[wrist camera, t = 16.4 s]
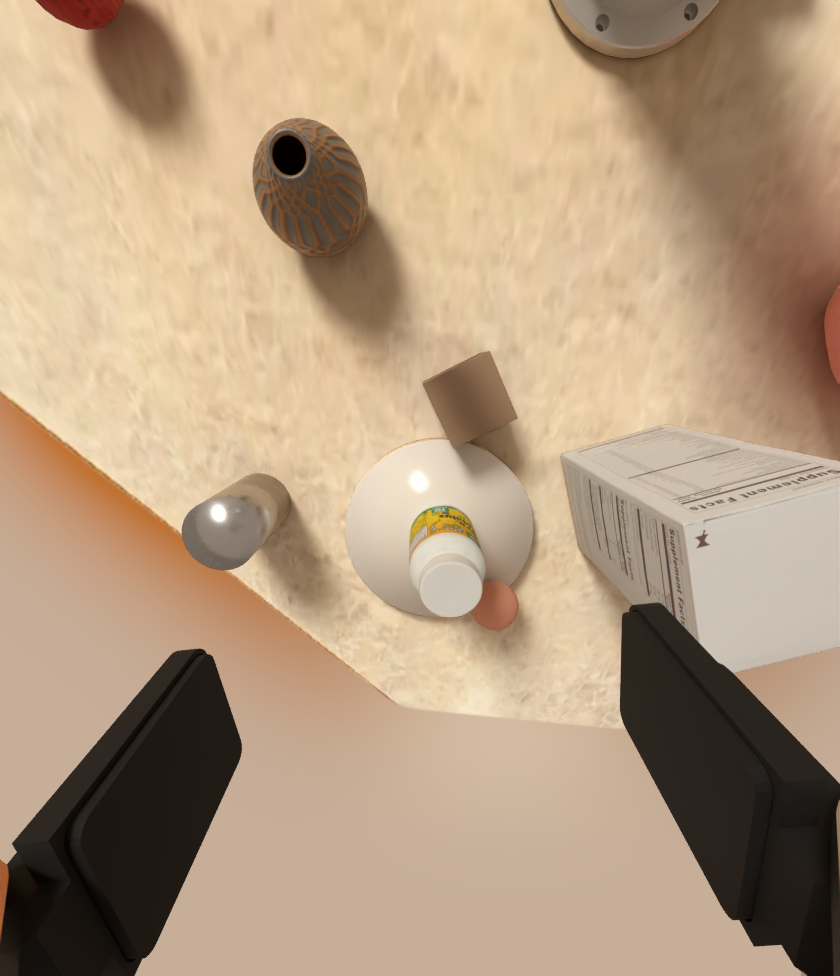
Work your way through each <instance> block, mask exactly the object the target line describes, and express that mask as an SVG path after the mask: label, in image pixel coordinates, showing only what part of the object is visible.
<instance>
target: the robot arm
mask: <svg viewBox="0 0 840 976" xmlns="http://www.w3.org/2000/svg"><path fill="white" fill-rule="evenodd" d="M551 1H552V3H553V5H554V7H555V9H556V11H557V13H558V15H559V17H560V18H561V19H562V21H563V22H564V23H565V25H566V26H567V27H568V29H569V30H570V31H571V32H572V33H573V34H574V35H575V36H576V37H577V38H578V39H580V40H581V41H582V42H583V43H584V44H585V45H587V46H589V47H591V48H592V49H594V50H596V51H598V52H600V53H602V54H606V55H610V56H614V57H618V58H640V57H644V56H648V55H652V54H656V53H659V52H661V51H663V50H665V49H667V48H669V47H671V46H673V45H675V44H677V43H678V42H679V41H681V40H682V39H683V38H685V37H686V36H687V35H689V34H690V33H692V32H693V31H694V30H695V28H696V27H697V26H698V25H699V24H700V23H701V22H702V21H703V20H704V19H705V18H706V17H707V16H708V15H709V14H710V12H711V11H712V10H713V8H714V7H715V6H716V5H717V3H718V2H719V1H720V0H551ZM620 712H621V717H622V720H623V723H624V726H625V728H626V730H627V731H628V733H629V735H630V737H631V739H632V741H633V743H634V744H635V746H636V748H637V750H638V752H639V754H640V756H641V758H642V759H643V761H644V763H645V765H646V767H647V769H648V770H649V772H650V774H651V776H652V778H653V780H654V782H655V784H656V785H657V787H658V789H659V791H660V793H661V795H662V797H663V798H664V800H665V802H666V804H667V806H668V808H669V810H670V811H671V813H672V815H673V817H674V819H675V821H676V823H677V824H678V826H679V828H680V830H681V832H682V834H683V836H684V838H685V839H686V841H687V843H688V845H689V847H690V849H691V851H692V852H693V854H694V856H695V858H696V860H697V862H698V864H699V865H700V867H701V869H702V871H703V873H704V875H705V876H706V879H707V880H708V882H709V884H710V886H711V888H712V890H713V892H714V893H715V895H716V897H717V899H718V901H719V903H720V905H721V906H722V908H723V910H724V911H725V913H726V914H727V915H728V917H730V918H731V919H732V920H740V922H741V924H742V926H743V927H744V929H745V931H746V933H747V934H748V936H749V938H750V940H751V942H752V943H753V945H754V946H767V945H782V946H783V948H784V950H785V951H786V953H787V955H788V956H789V958H790V960H791V961H792V963H793V965H794V966H795V967H796V968H798V969H799V970H800V971H801V976H840V784H839V783H838V782H837V781H836V779H835V778H834V777H833V776H832V775H831V774H830V773H829V772H828V771H827V770H826V769H825V768H824V767H823V766H822V765H821V764H820V763H819V762H818V761H817V760H816V759H815V758H814V757H813V756H812V755H811V754H810V753H809V752H808V751H807V749H806V748H805V747H804V746H803V745H802V744H801V743H800V742H799V741H798V740H797V739H796V738H795V737H794V736H793V735H792V734H791V733H790V732H789V731H788V730H787V729H786V728H785V727H784V726H783V725H782V724H781V723H780V722H779V721H778V719H776V717H775V716H774V715H773V714H772V713H771V712H770V711H769V710H768V709H767V708H766V707H765V706H764V705H763V704H762V703H761V702H760V701H759V700H758V699H757V698H756V697H755V696H754V695H753V694H752V692H751V691H750V690H749V689H747V687H746V686H745V685H744V684H743V683H742V682H741V681H740V680H739V679H738V678H737V677H736V676H735V675H734V674H733V673H732V672H731V671H730V670H729V669H728V668H727V667H725V666H724V665H723V664H720V663H718V662H717V661H716V660H715V659H714V658H713V657H712V656H711V655H710V654H709V653H708V652H707V650H706V649H705V648H704V647H703V646H702V645H701V644H700V643H699V642H698V641H697V640H696V639H695V638H694V637H693V636H692V635H691V634H690V633H689V632H688V630H687V629H686V628H685V627H684V626H683V625H682V624H681V623H680V622H679V621H678V620H677V619H676V618H675V617H674V616H673V615H672V614H671V613H670V612H669V610H668V609H667V608H666V607H665V606H664V605H662V604H661V603H658V602H656V603H646V604H637V605H632V606H631V607H630V609H629V612H626V613H623V615H622V641H621V684H620ZM241 751H242V743H241V739H240V736H239V733H238V730H237V728H236V724H235V721H234V719H233V715H232V712H231V709H230V707H229V704H228V700H227V697H226V694H225V691H224V688H223V685H222V682H221V680H220V677H219V673H218V670H217V667H216V664H215V661H214V659H213V657H212V656H211V655H208V654H207V653H206V652H205V651H204V650H203V649H191V650H181V651H176V652H174V653H173V654H172V655H170V657H169V658H168V659H167V660H166V661H165V663H164V664H163V665H162V666H161V667H160V668H159V670H158V671H157V672H156V673H155V674H154V676H153V677H152V678H151V679H150V680H149V682H148V683H147V684H146V685H145V686H144V688H143V689H142V690H141V691H140V692H139V693H138V695H137V696H136V697H135V698H134V699H133V700H132V702H131V703H130V704H129V705H128V706H127V708H126V709H125V710H124V711H123V712H122V714H121V715H120V716H119V717H118V718H117V719H116V721H115V722H114V723H113V724H112V726H111V727H110V728H109V729H108V730H107V731H106V733H105V734H104V735H103V736H102V737H101V739H100V740H99V741H98V742H97V744H96V745H95V746H94V747H93V748H92V749H91V750H90V752H89V753H88V754H87V755H86V756H85V758H84V759H83V760H82V761H81V762H80V763H79V765H78V766H77V767H76V768H75V769H74V771H73V772H72V773H71V774H70V775H69V777H68V778H67V779H66V780H65V781H64V782H63V784H62V785H61V786H60V787H59V788H58V790H57V791H56V792H55V793H54V794H53V795H52V797H51V798H50V799H49V800H48V801H47V803H46V804H45V805H44V806H43V807H42V809H41V810H40V811H39V812H38V813H37V814H36V816H35V817H34V818H33V820H31V822H30V823H29V824H28V825H27V826H26V828H25V829H24V830H23V831H22V832H21V834H20V835H19V836H18V837H17V838H16V839H15V841H14V842H13V843H12V844H13V846H14V848H15V850H16V851H17V853H16V854H15V855H14V857H13V858H12V859H11V860H10V862H9V863H8V864H5V863H4V862H3V861H1V860H0V976H134V975H135V973H136V971H137V969H138V967H139V965H140V963H141V960H142V958H146V957H147V956H148V955H149V954H150V953H151V951H152V950H153V948H154V947H155V945H156V943H157V941H158V938H159V936H160V934H161V932H162V929H163V927H164V925H165V923H166V921H167V919H168V917H169V914H170V912H171V910H172V907H173V906H174V903H175V901H176V899H177V897H178V894H179V892H180V890H181V888H182V886H183V883H184V881H185V879H186V877H187V875H188V872H189V870H190V868H191V866H192V864H193V862H194V859H195V857H196V855H197V853H198V850H199V848H200V846H201V844H202V842H203V840H204V837H205V835H206V833H207V831H208V829H209V826H210V824H211V822H212V820H213V817H214V815H215V813H216V811H217V809H218V807H219V804H220V802H221V800H222V798H223V795H224V793H225V791H226V789H227V787H228V785H229V782H230V780H231V778H232V776H233V773H234V771H235V769H236V767H237V765H238V763H239V760H240V757H241Z"/></svg>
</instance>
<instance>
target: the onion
mask: <svg viewBox="0 0 840 976" xmlns="http://www.w3.org/2000/svg"><path fill="white" fill-rule="evenodd" d="M36 1H37V2H38V3H39V4H40V5H41V6H42V7H43V8H44V9H45V10H46V11H47V12H49V13H50V14H51V15H53V16H54V17H55V18H57V19H59V20H61V21H63V22H66V23H68V24H70V25H72V26H75V27H77V28H81V29H86V30H90V29H96V28H102V27H105V26H106V25H107V24H108V23H109V22H110V21H111V20H113V19H114V18H115V17H116V15H117V13H118V11H119V8H120V6H121V4H122V2H123V0H36Z"/></svg>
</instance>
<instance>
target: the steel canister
mask: <svg viewBox="0 0 840 976" xmlns="http://www.w3.org/2000/svg"><path fill="white" fill-rule="evenodd" d="M289 511H290V497H289V494H288V492H287V490H286V488H285V487H284V485H283V484H282V483H281V482H280V481H278V480H277V479H276V478H274V477H272V476H270V475H266V474H258V473H257V474H251V475H248V476H246V477H244V478H242V479H241V480H239V481H237V482H236V483H234V484H232V485H231V486H229V487H227V488H226V489H224V490H222V491H221V492H219V493H217V494H216V495H214V496H212V497H211V498H209V499H207V500H206V501H204V502H203V503H201V504H199V505H198V506H196V507H194V508H193V509H192V510H191V511H190V512H189V513H188V514H187V516H186V517H185V519H184V522H183V525H182V538H183V542H184V544H185V547H186V549H187V550H188V552H189V553H190V554H191V555H192V557H193V558H194V559H196V560H197V561H198V562H199V563H201V564H203V565H205V566H207V567H209V568H212V569H217V570H230V569H235V568H237V567H239V566H241V565H243V564H244V563H246V562H247V561H248V560H249V559H250V558H251V557H252V555H253V554H254V553H255V552H256V551H257V550H258V549H259V548H260V547H261V545H262V544H263V543H264V542H265V541H266V540H267V539H268V538H269V537H270V535H271V534H272V533H273V532H274V531H275V530H276V529H277V528H278V527H279V526H280V524H281V523H282V522H283V521H284V520H285V519H286V517H287V516H288V514H289Z"/></svg>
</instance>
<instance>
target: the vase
mask: <svg viewBox="0 0 840 976" xmlns="http://www.w3.org/2000/svg"><path fill="white" fill-rule="evenodd" d="M253 186H254V192H255V196H256V200H257V203H258V206H259V209H260V211H261V213H262V215H263V217H264V219H265V221H266V222H267V224H268V225H269V227H270V228H271V229H272V231H273V232H274V233H275V234H276V235H277V236H278V237H279V238H280V239H281V240H282V241H283V242H284V243H286V244H287V245H288V246H290V247H291V248H293V249H294V250H296V251H298V252H300V253H303V254H305V255H309V256H314V257H327V256H332V255H335V254H338V253H340V252H342V251H344V250H345V249H346V248H348V247H349V246H350V245H351V244H352V243H353V242H354V241H355V240H356V238H357V237H358V235H359V234H360V232H361V230H362V227H363V225H364V222H365V218H366V214H367V205H368V199H367V188H366V183H365V178H364V175H363V172H362V169H361V166H360V164H359V162H358V160H357V158H356V156H355V154H354V153H353V151H352V150H351V148H350V147H349V146H348V144H347V143H346V142H345V141H344V140H343V139H342V138H341V137H340V136H339V135H338V134H337V133H336V132H334V131H333V130H332V129H330V128H329V127H327V126H325V125H323V124H321V123H319V122H317V121H314V120H310V119H304V118H294V119H289V120H286V121H283V122H281V123H279V124H277V125H275V126H274V127H273V128H272V129H270V130H269V131H268V132H267V133H266V135H265V136H264V137H263V139H262V140H261V142H260V144H259V146H258V148H257V151H256V154H255V158H254V163H253Z"/></svg>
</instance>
